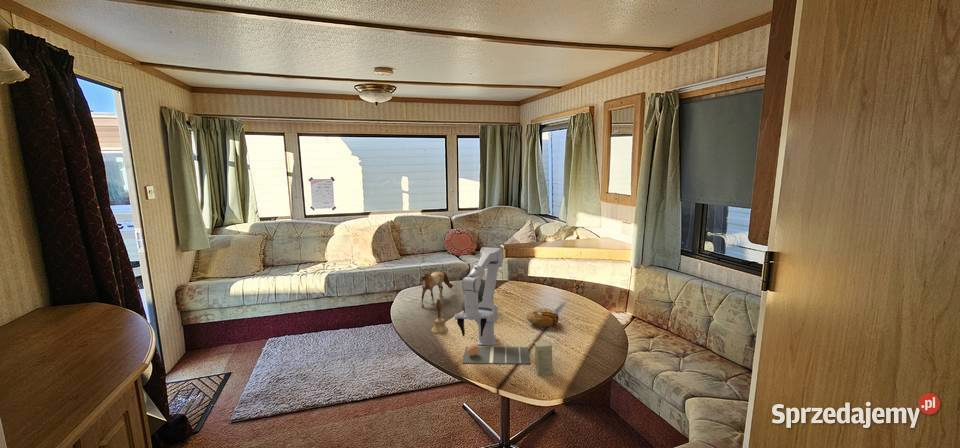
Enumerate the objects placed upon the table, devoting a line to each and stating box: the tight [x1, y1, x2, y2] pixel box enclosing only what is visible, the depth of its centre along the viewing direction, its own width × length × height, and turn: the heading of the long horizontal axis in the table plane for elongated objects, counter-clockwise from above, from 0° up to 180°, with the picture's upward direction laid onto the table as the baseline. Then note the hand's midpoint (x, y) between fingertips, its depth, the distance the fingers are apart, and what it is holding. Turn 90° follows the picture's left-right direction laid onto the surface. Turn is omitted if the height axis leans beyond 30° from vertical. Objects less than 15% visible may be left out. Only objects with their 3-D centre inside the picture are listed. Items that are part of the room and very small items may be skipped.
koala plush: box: [461, 278, 492, 312], centre depth 217 cm, size 17×18×20 cm
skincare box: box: [534, 340, 554, 376], centre depth 153 cm, size 6×4×12 cm
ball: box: [467, 343, 479, 356], centre depth 167 cm, size 5×5×5 cm
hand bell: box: [431, 298, 449, 335], centre depth 193 cm, size 8×8×16 cm
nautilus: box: [525, 307, 564, 332], centre depth 195 cm, size 8×22×15 cm
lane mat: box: [461, 346, 531, 365], centre depth 168 cm, size 14×28×1 cm, turn 86°
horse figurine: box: [420, 271, 455, 308], centre depth 233 cm, size 31×8×21 cm, turn 152°
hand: (472, 335), depth 166 cm, fingers open, 7 cm apart
